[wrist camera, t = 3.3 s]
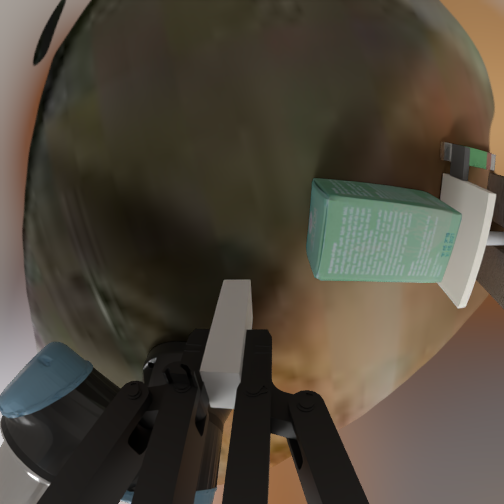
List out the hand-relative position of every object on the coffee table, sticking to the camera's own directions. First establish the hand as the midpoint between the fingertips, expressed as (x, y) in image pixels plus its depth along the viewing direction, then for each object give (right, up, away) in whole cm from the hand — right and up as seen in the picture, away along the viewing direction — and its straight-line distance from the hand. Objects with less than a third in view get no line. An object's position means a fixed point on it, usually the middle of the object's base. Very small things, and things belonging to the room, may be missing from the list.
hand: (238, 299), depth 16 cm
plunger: (+28, +8, +9) cm, 31 cm away
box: (+13, +7, +11) cm, 18 cm away
